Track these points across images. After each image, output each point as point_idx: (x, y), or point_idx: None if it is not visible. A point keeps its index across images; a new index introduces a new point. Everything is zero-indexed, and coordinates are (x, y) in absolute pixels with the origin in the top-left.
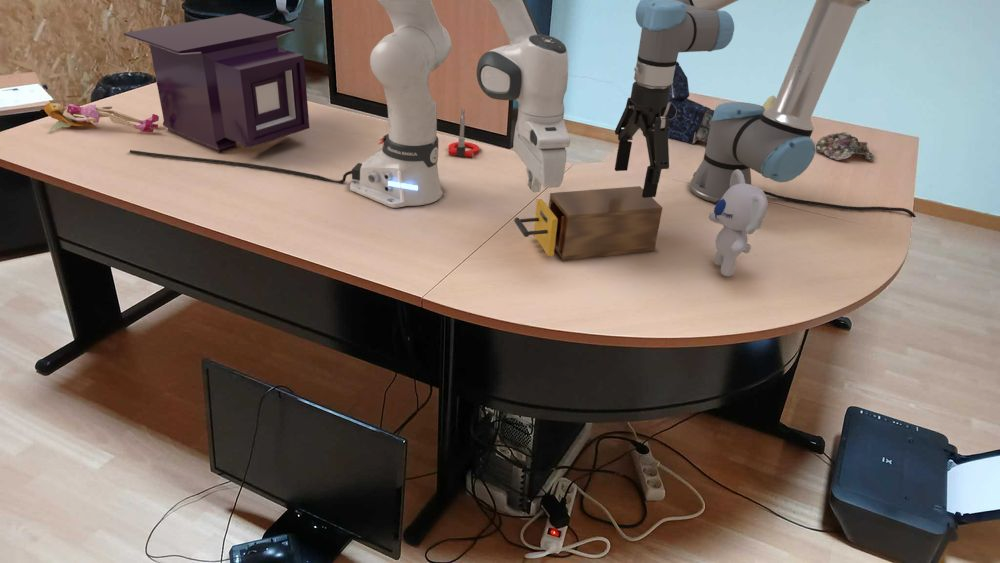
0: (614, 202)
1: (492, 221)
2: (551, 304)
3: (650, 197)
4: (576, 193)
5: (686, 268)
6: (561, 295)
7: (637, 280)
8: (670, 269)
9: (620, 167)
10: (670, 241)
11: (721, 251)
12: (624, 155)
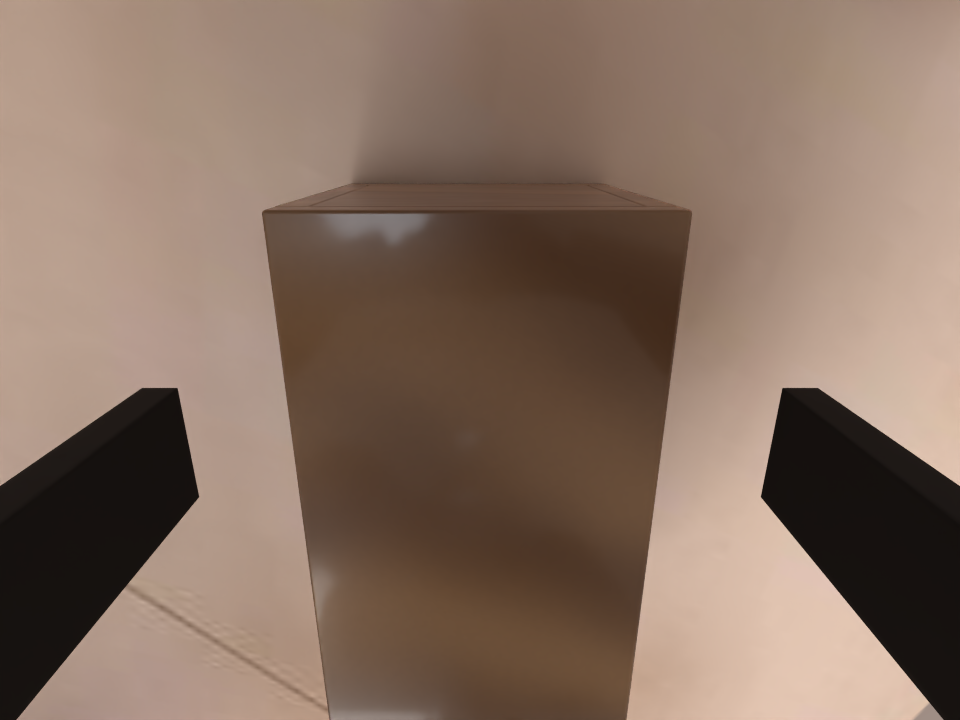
0: (522, 519)
1: (247, 706)
2: (815, 687)
3: (494, 225)
4: (358, 673)
5: (809, 92)
6: (782, 649)
7: (805, 379)
8: (785, 186)
9: (172, 479)
10: (527, 27)
11: None
12: (78, 546)
